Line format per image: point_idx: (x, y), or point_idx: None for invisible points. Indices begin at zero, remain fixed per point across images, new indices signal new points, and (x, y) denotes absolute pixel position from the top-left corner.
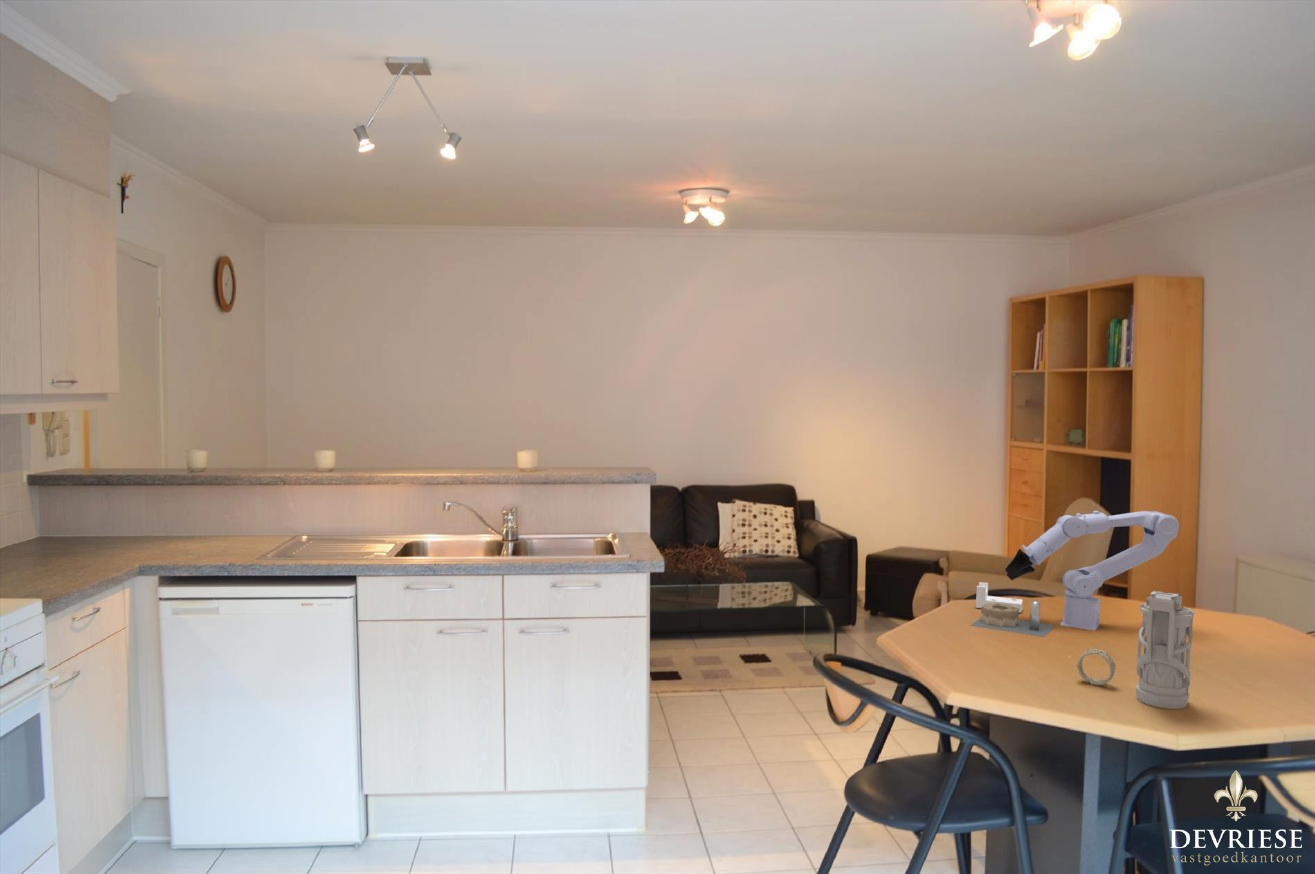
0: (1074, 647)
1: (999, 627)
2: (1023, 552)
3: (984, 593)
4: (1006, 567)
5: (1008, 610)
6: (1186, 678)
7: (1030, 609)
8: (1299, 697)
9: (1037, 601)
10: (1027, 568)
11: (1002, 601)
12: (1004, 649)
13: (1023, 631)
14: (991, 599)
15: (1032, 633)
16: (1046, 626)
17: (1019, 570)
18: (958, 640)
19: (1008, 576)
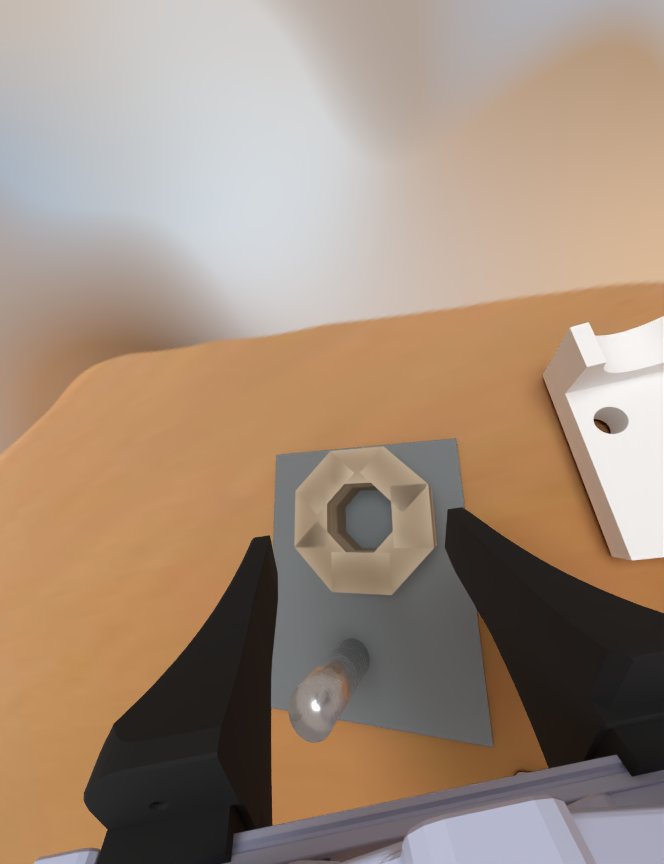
0: None
1: None
2: (105, 820)
3: (573, 377)
4: (248, 549)
5: (322, 561)
6: None
7: (316, 668)
8: None
9: (322, 723)
10: (539, 710)
11: (615, 462)
12: (108, 602)
13: (300, 623)
14: (615, 407)
15: (291, 658)
16: (438, 705)
17: (500, 614)
18: (136, 480)
19: (448, 524)
